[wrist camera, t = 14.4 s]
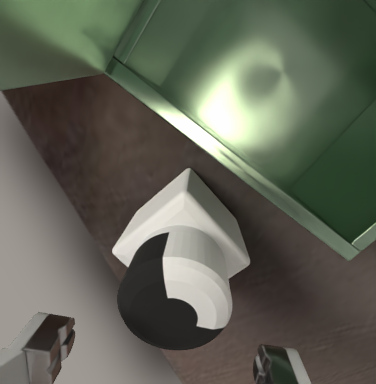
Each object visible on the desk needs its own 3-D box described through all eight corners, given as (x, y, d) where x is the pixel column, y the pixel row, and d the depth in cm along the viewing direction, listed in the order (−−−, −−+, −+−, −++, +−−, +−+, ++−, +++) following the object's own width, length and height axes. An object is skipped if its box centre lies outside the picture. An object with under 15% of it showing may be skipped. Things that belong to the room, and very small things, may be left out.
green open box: (423, 55, 17) (679, -11, 8) (285, 198, 22) (349, 262, 12) (270, -106, 15) (385, -464, 6) (147, 90, 19) (98, 69, 10)
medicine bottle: (183, 259, 24) (168, 386, 13) (135, 211, 23) (71, 309, 11) (237, 219, 22) (275, 327, 11) (189, 165, 21) (177, 226, 10)
